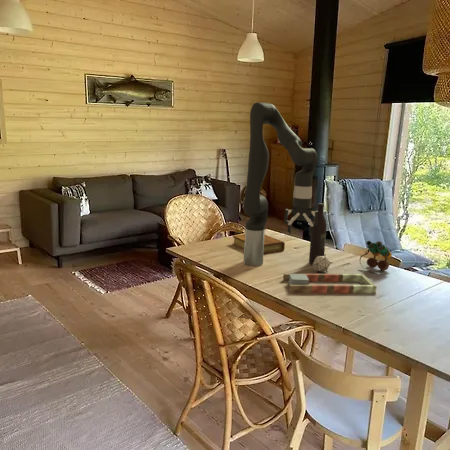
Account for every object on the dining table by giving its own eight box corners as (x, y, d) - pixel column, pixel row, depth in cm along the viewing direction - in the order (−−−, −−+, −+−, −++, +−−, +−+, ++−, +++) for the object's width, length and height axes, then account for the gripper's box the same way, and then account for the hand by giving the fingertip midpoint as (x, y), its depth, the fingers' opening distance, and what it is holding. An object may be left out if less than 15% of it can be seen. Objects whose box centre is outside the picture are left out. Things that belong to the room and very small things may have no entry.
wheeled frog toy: (389, 279, 208) (399, 250, 211) (380, 270, 198) (390, 240, 201) (361, 272, 217) (370, 244, 220) (351, 263, 207) (361, 234, 210)
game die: (323, 280, 206) (332, 268, 198) (306, 272, 207) (314, 260, 199) (327, 266, 212) (336, 254, 204) (311, 259, 213) (319, 246, 205)
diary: (284, 252, 239) (284, 241, 237) (255, 256, 230) (255, 245, 228) (259, 241, 258) (260, 231, 257) (232, 245, 249) (232, 235, 247)
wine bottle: (319, 266, 213) (324, 205, 207) (306, 263, 217) (310, 203, 211) (325, 263, 219) (330, 203, 212) (312, 260, 223) (317, 201, 216)
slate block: (291, 289, 184) (291, 279, 183) (288, 283, 190) (289, 273, 189) (308, 290, 184) (308, 279, 183) (305, 284, 190) (305, 274, 189)
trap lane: (290, 292, 179) (290, 285, 179) (283, 280, 194) (283, 273, 193) (375, 293, 182) (376, 286, 181) (362, 280, 196) (363, 274, 196)
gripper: (284, 196, 184) (282, 234, 187) (320, 198, 181) (317, 237, 185) (285, 194, 191) (283, 230, 195) (319, 196, 188) (316, 233, 192)
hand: (300, 234), depth 190 cm, fingers open, 8 cm apart
